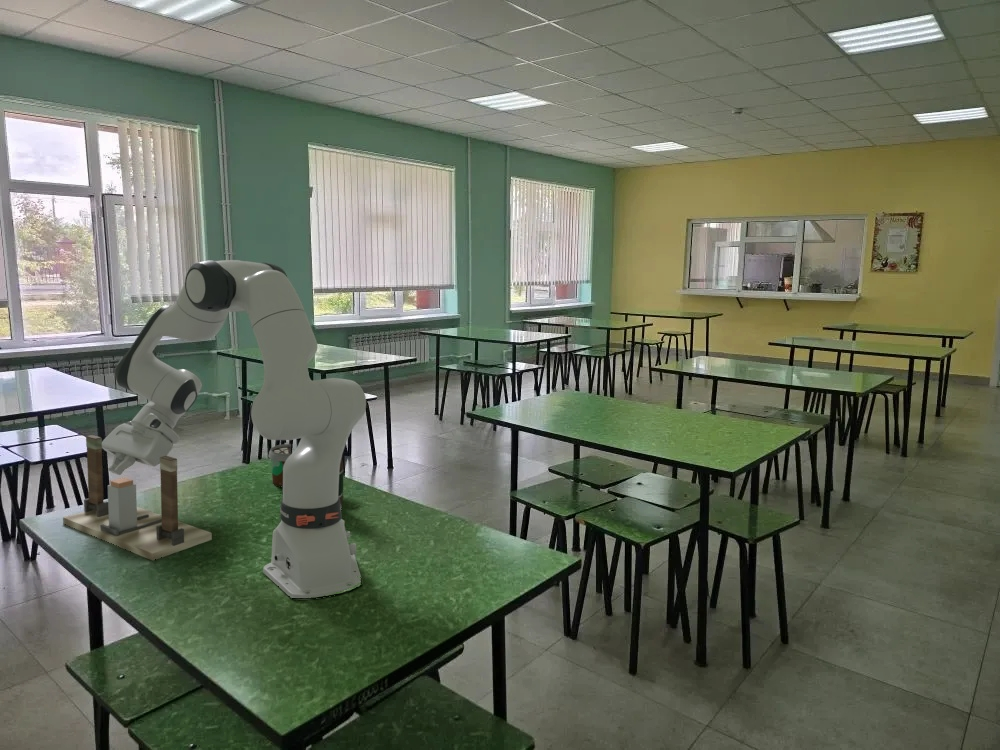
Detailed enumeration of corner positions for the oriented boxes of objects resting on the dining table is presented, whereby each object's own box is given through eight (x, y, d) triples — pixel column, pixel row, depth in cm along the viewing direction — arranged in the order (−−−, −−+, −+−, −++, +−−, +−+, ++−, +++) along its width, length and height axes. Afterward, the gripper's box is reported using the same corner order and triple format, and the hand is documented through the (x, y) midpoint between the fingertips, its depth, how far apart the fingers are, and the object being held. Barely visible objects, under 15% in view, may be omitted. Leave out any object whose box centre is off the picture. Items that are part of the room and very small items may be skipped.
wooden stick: (95, 507, 160) (93, 434, 157) (104, 511, 158) (102, 437, 155) (88, 509, 158) (85, 436, 155) (97, 513, 156) (94, 438, 154)
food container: (268, 476, 197) (268, 443, 196) (290, 476, 199) (290, 443, 197) (267, 490, 185) (267, 455, 184) (290, 489, 187) (291, 454, 186)
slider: (126, 523, 152) (125, 476, 151) (137, 527, 150) (135, 480, 149) (109, 528, 149) (107, 480, 147) (119, 532, 147) (118, 484, 145)
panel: (211, 539, 150) (211, 520, 149) (152, 560, 138) (152, 539, 137) (122, 507, 167) (122, 489, 166) (63, 523, 154) (62, 504, 154)
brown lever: (168, 534, 146) (166, 455, 143) (179, 538, 144) (177, 458, 142) (160, 537, 144) (159, 457, 142) (171, 541, 143) (169, 460, 140)
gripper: (118, 413, 170) (79, 458, 163) (167, 425, 160) (129, 473, 153) (135, 427, 175) (98, 471, 168) (184, 439, 165) (148, 487, 158)
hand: (113, 472), depth 160 cm, fingers closed
